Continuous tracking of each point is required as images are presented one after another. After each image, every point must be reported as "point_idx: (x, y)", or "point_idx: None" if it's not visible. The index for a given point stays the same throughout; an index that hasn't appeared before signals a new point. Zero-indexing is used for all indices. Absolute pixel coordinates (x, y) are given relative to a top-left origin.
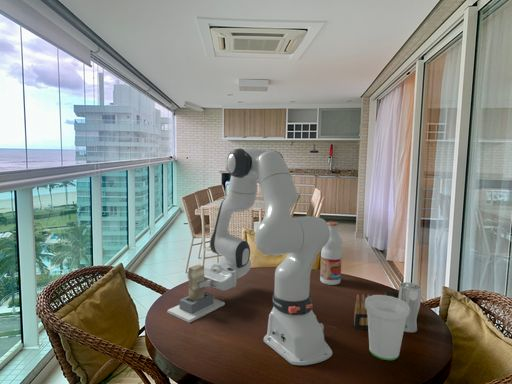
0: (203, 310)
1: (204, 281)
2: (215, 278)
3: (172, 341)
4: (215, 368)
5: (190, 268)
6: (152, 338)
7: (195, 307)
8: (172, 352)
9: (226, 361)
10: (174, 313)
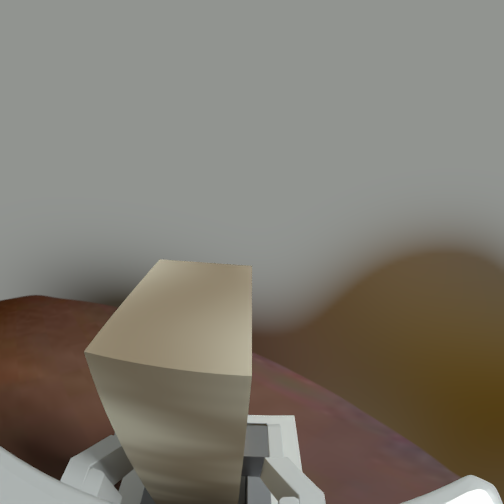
0: (141, 486)
1: (114, 448)
2: (7, 470)
3: None
4: (29, 307)
5: (219, 265)
6: None
7: None
8: None
9: (12, 320)
10: None
